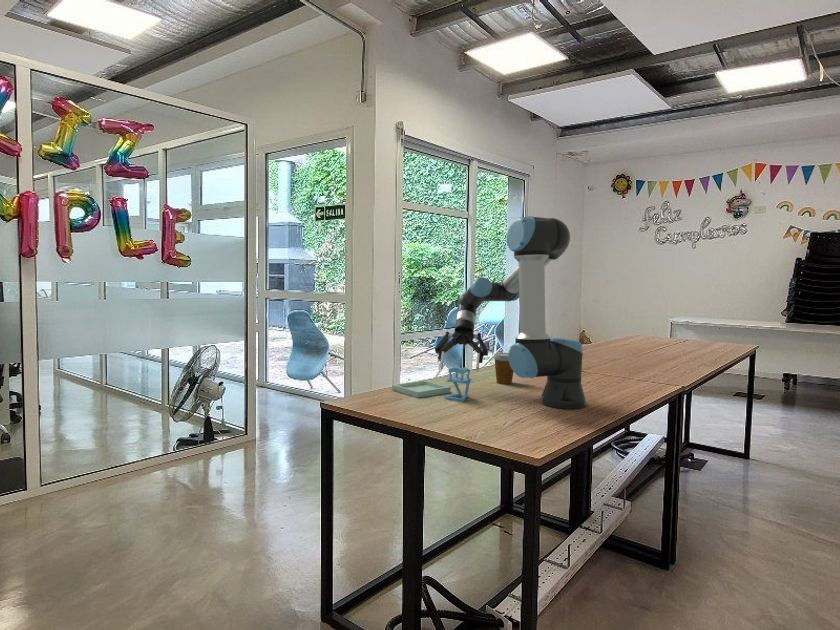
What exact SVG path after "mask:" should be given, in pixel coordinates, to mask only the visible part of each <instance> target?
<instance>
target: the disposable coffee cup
mask: <svg viewBox="0 0 840 630" xmlns="http://www.w3.org/2000/svg"><path fill="white" fill-rule="evenodd" d="M508 353H509V352H496V353H494V355H493V356H492V358H493V360H494V367H495V369H494V370H495V371H494V372H495V377H496V380H495V381H496V384H500V385H510V384H511V385H512V384H513V377H514V371H513V370H512V368H511V366H510V363H509V358H508Z"/></svg>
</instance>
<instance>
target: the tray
mask: <svg viewBox="0 0 840 630" xmlns="http://www.w3.org/2000/svg"><path fill="white" fill-rule="evenodd" d="M451 388H452V387H451V386H450V385H449V386H448V385H444V384H441V383H436V382H434V381H428V380H425V379H423V380H417V381H409V382H402V383H396V384H391V391H393V392H397V393H399V394H403V393H404V395H406V394H407V396H409V397H410V396H411V397H414V398H416V399H419V398H426V397H430V396H431V397H432V396H437V395H443V394H449V393H451V390H452V389H451Z"/></svg>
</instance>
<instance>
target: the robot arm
mask: <svg viewBox="0 0 840 630" xmlns="http://www.w3.org/2000/svg"><path fill="white" fill-rule="evenodd" d="M505 239H506V245H507V246H508V249H509V250H510V251H511V252H513V258H514V260H515V261H516V262H517V264H518V265H516V266H515V267H514V268H513V270H511V272H509V274H507V275H506V276H505V277H504V278H503V280H502V281H500V282H491V280H489V278H485V277H484V276H479V277H477V278H476V279H475V280H473V282H472V283H471V284H470V286H469V287H468V289H467V290H465V291H463V292H461V293H460V295H459V298H458V300H457V311H456V318H455V325H454V329H453V330H454V331H453V333H452V332H451V333H450V332H449V331H445V335H444V336H443V338H442V339H441V340H440V341H439V342H438V344H437V345H436V346H435V347H434V351H435V353H436V355H437V354H438V361H439V368H440V371H441V370H443V369H444V368H443V367H444V363H445V353H447V352H448V351H449V350H451V349H452V348H453V347H455V346H457V345H464V346H465V345H466V346H467V345H469V347H471V348H472V349H473V350H474V351H475V353H477V355H476V364H475V365H476V366H475V369H476V370H475V371H476V372H479V371H480V364H483V362H484V361H483V359H484V356H485V357H488V355H489V350H488V348H487V345H486V344H485V343H484V342H485V341H484V340H483V339H482V333H481V332H477V334H474V332H475V324H476V323H475V322H476V314H477V310H478V308H479V307H480V305H482V303H483V302H515V301H517V300H518V304H519V305H518V307H519V308H518V309H519V311H518V313H519V315H518V316H519V333H518V335H516V336H515V343H513V344H512V345H510V348H509V350H508V352H507V353H508V358H509V363H510V366H511V368H512V370H513V371H514V372H513V374H515V375H517V376H518V377H519V378H523V379H525V378H527V379H535V378H543V377H546V382H545V386H544V388H543V392H542V394H541V397H540V398H541V401H540V403H541V404H542V405H544V406H547V407H552V408H556V409H563V410H564V409H565V410H569V409H570V410H571V409H573V410H575V409H582V408H584V406H585V405H586V404H587V403H586V402H587V400H586V397H585V392H584V388H583V385H582V372H583V371H582V367H583V354H584V353H583V344H582V342H581V341H579V340H574V339H567V338H560V337H550V335H548V334H547V332H546V288H545V287H546V282H545V281H546V280H545V279H546V276H545V275H546V271H545V270H546V268H545V267H546V266H547V265H548V264H549V263H550V262H551V261H555V260H557V259H559V258H560V257H561V256H562V255H563V254H564V253H565V252H566V250H567V249H568V247H569V245H570V241H571V232H570V231H569V228H568V226H567V224H566V223H564V221H562V220H560V219H558V218H552V217H551V218H550V217H540V216H539V217H538V216H519V217H517V218H515V219H514V220H512V222H511V224H510V225H509V226H508V229H507V233H506V237H505ZM450 339H451V340H450ZM474 339H475V340H476V341H478V344H479V345H478V344H477V343H476V342H475V341H474ZM449 340H450V341H449ZM479 346H480V347H479ZM586 406H587V405H586ZM586 406H585V407H586Z"/></svg>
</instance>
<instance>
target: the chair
mask: <svg viewBox="0 0 840 630" xmlns="http://www.w3.org/2000/svg"><path fill="white" fill-rule="evenodd" d="M447 371H448V373H449V374H448V375H449V377H448V378H447V379H446V382H447V383H453V385H454V387H455V388H456V391H457V393H454V394H450V395H444V400H448V401H454V402H455V401H456V402H465V401H466V400H467V398H468V396H469V395H468V394H469V388H470V383H471V381H472V378H470V373H471V369H470V368H468V367H459V366H456V365H454V366H450V367H449V368H448V369H447ZM452 373H455V376H454V377H453V375H452ZM465 373H467V374H466V377H464V374H465ZM459 374H461V375H460V376H461V377H460V376H458V375H459ZM458 384H462V385H463V384H464V385H465V391H464V395H463V393H462V391H461V389H460V388H459V385H458ZM462 395H463V397H462ZM461 397H462V398H461Z"/></svg>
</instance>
